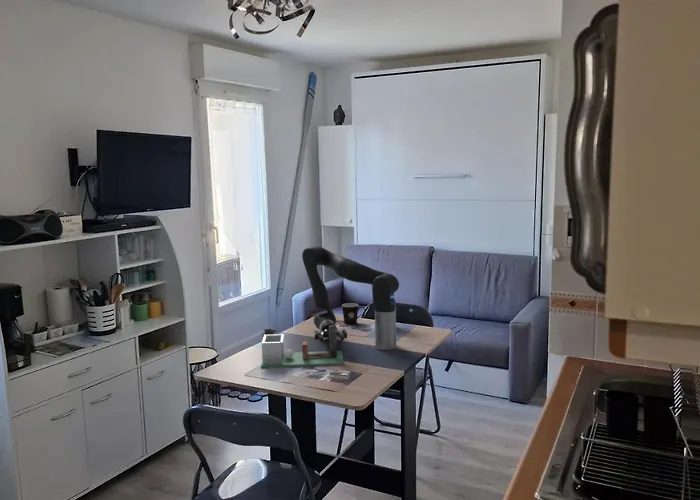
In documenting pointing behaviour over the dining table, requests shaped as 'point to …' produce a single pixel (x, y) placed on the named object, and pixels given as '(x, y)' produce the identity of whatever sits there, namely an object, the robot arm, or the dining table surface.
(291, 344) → the dining table surface
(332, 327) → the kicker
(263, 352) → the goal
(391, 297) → the beverage bottle
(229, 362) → the dining table surface
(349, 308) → the coffee mug
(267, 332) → the lighter
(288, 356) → the ball
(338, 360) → the board
